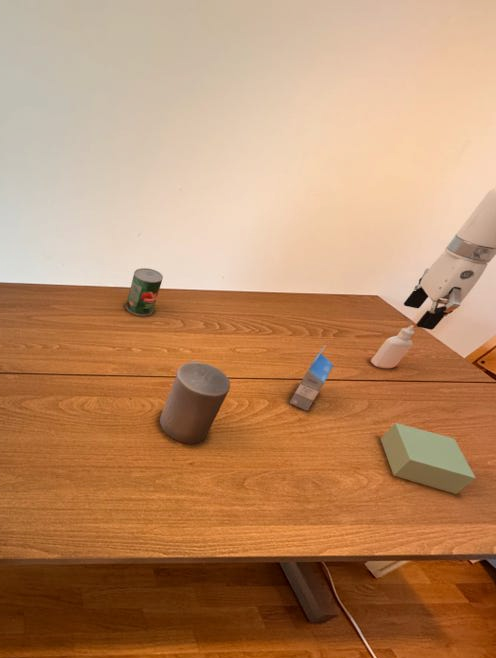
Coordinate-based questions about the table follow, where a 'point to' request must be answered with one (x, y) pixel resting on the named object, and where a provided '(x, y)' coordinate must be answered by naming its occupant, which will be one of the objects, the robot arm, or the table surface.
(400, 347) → the eye dropper bottle
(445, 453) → the block
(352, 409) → the table surface
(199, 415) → the pillar candle
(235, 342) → the table surface
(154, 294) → the canned tomato
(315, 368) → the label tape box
